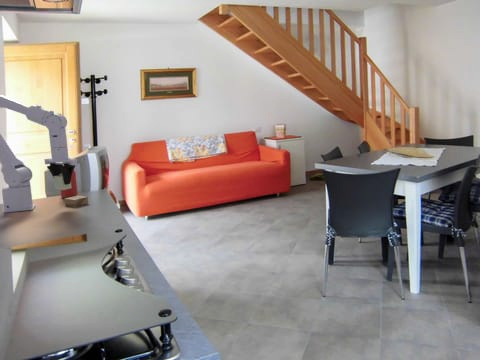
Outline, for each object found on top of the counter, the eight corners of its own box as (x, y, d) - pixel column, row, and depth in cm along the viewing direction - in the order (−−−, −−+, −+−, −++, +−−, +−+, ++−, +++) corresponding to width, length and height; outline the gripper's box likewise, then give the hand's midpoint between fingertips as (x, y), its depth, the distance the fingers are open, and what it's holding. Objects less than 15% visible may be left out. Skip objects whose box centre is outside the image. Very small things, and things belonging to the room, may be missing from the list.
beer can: (61, 196, 180) (59, 168, 178) (78, 194, 182) (75, 167, 180) (60, 199, 174) (57, 170, 172) (77, 197, 176) (74, 169, 174)
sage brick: (63, 190, 155) (61, 174, 154) (55, 189, 156) (53, 174, 156) (71, 188, 158) (70, 173, 157) (63, 187, 160) (62, 172, 159)
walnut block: (75, 207, 159) (74, 199, 159) (65, 206, 162) (64, 198, 162) (88, 204, 164) (87, 196, 164) (77, 203, 167) (77, 195, 167)
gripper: (82, 146, 155) (85, 182, 158) (53, 146, 162) (57, 181, 164) (66, 148, 149) (70, 186, 151) (38, 148, 155) (42, 184, 158)
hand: (63, 183), depth 157 cm, fingers closed on sage brick, 4 cm apart
